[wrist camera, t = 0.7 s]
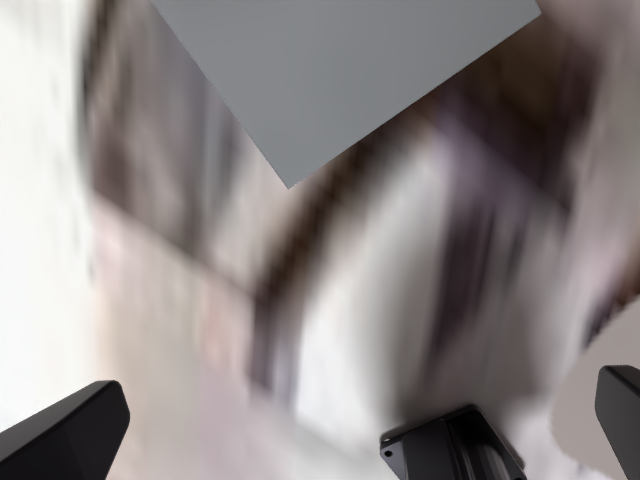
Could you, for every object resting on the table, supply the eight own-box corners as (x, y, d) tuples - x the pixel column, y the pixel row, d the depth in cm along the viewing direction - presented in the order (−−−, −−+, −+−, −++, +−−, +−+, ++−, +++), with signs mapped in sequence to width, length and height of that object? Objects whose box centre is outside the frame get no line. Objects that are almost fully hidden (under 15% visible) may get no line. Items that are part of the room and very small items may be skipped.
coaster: (529, 19, 16) (541, 13, 15) (292, 183, 19) (288, 189, 18) (397, -246, 14) (400, -275, 13) (153, -8, 17) (139, -16, 16)
